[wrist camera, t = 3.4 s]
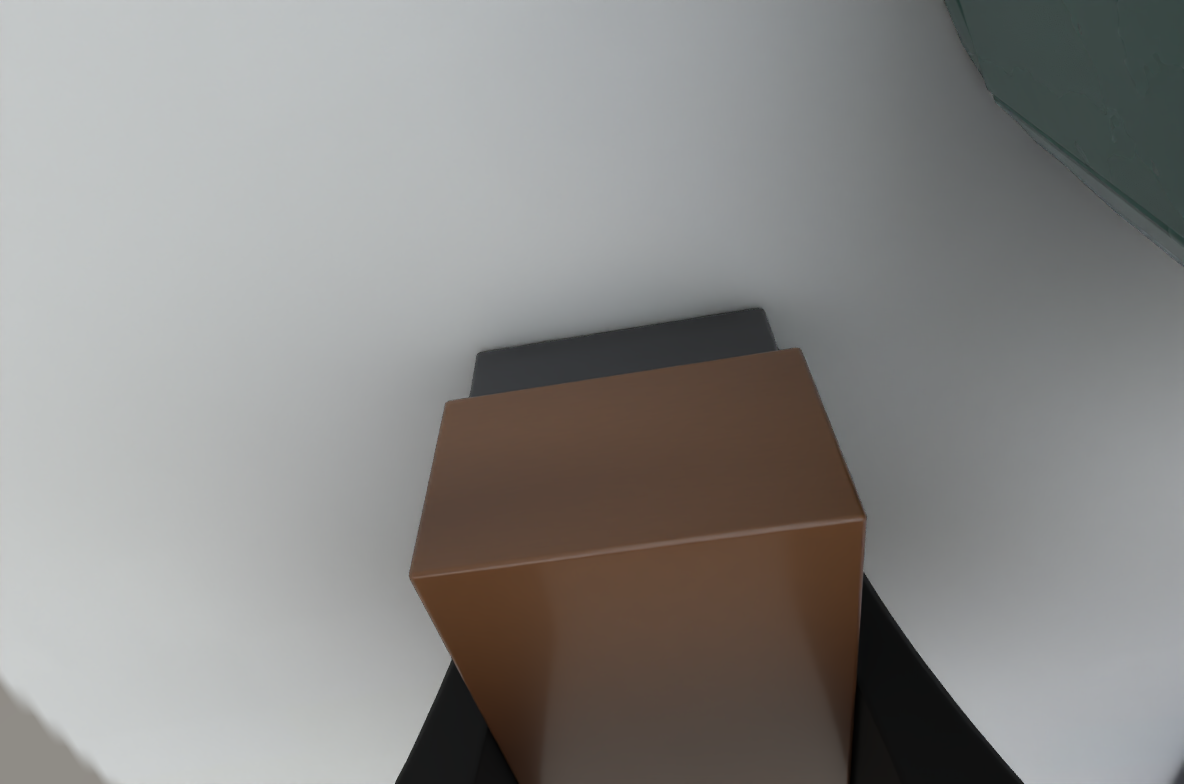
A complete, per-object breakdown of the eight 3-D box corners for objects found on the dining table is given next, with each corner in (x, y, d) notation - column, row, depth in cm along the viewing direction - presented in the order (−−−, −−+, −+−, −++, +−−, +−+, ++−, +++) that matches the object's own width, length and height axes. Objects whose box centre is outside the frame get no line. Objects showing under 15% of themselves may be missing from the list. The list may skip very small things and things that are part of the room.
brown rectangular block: (792, 675, 15) (844, 892, 12) (584, 698, 16) (585, 913, 13) (779, 289, 10) (869, 516, 7) (456, 340, 10) (405, 577, 7)
